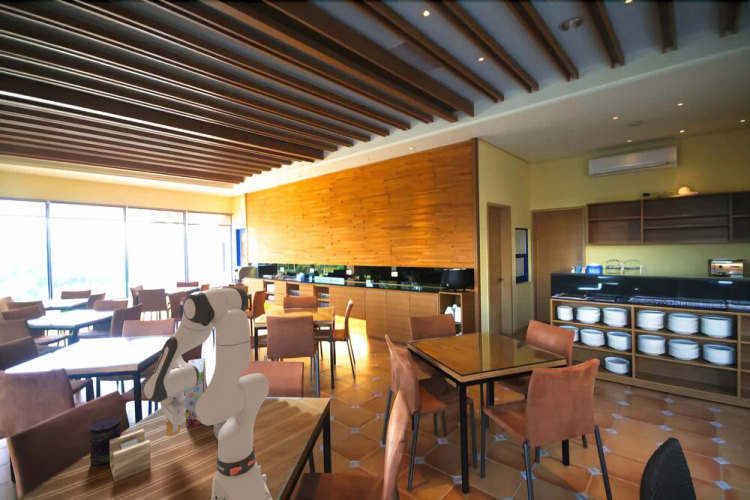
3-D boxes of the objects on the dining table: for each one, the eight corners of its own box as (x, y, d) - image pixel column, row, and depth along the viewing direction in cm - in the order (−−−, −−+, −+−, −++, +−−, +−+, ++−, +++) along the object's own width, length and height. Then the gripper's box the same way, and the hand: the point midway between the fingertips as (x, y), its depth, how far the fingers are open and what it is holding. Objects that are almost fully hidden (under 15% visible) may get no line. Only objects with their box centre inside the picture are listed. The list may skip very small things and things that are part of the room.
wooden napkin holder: (150, 467, 126) (150, 441, 126) (114, 481, 119) (114, 454, 118) (143, 452, 136) (143, 428, 135) (109, 465, 128) (109, 439, 128)
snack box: (188, 407, 173) (188, 359, 173) (207, 404, 177) (206, 357, 176) (184, 428, 153) (183, 374, 153) (205, 424, 157) (204, 371, 157)
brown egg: (181, 432, 133) (180, 421, 133) (168, 437, 130) (167, 426, 130) (177, 428, 136) (177, 417, 137) (165, 433, 133) (164, 422, 133)
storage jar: (96, 455, 134) (96, 419, 134) (125, 449, 137) (125, 414, 137) (85, 470, 125) (84, 432, 124) (116, 464, 128) (115, 426, 128)
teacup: (229, 445, 140) (229, 426, 140) (207, 442, 142) (207, 424, 142) (248, 427, 154) (248, 410, 154) (228, 425, 156) (228, 408, 156)
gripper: (187, 399, 128) (189, 434, 128) (174, 385, 143) (175, 417, 143) (169, 405, 124) (170, 441, 124) (157, 390, 138) (158, 423, 138)
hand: (172, 428), depth 133 cm, fingers closed on brown egg, 5 cm apart
